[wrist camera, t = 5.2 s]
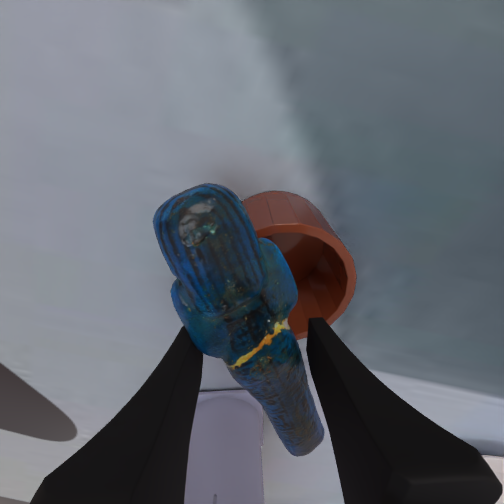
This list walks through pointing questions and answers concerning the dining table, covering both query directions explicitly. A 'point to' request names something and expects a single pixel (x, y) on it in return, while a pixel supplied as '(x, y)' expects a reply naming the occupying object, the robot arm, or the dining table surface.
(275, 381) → the figurine
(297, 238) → the cup
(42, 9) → the dining table surface
